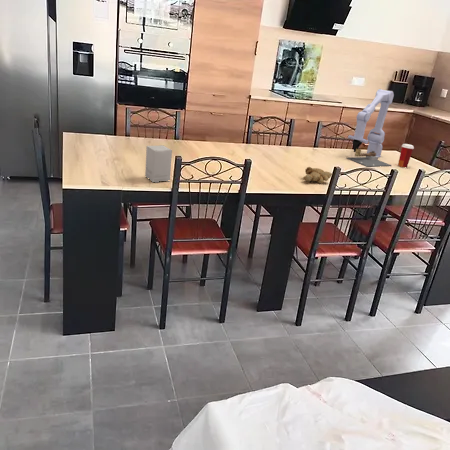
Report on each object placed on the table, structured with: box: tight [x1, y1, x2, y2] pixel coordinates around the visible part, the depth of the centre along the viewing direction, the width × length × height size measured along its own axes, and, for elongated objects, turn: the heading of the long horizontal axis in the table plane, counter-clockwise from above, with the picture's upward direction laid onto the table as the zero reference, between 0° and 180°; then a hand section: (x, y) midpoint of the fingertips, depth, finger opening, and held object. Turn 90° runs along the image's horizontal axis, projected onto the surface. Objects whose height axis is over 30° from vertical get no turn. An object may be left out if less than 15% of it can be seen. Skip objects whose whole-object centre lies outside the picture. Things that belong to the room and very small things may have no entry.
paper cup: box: [397, 143, 415, 168], centre depth 288 cm, size 8×8×14 cm
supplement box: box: [144, 145, 173, 183], centre depth 205 cm, size 9×9×15 cm
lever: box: [354, 148, 376, 157], centre depth 292 cm, size 18×4×4 cm, turn 120°
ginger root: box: [302, 166, 333, 184], centre depth 235 cm, size 16×16×8 cm
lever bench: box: [346, 156, 392, 168], centre depth 289 cm, size 21×19×3 cm
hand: (355, 151), depth 291 cm, fingers closed
